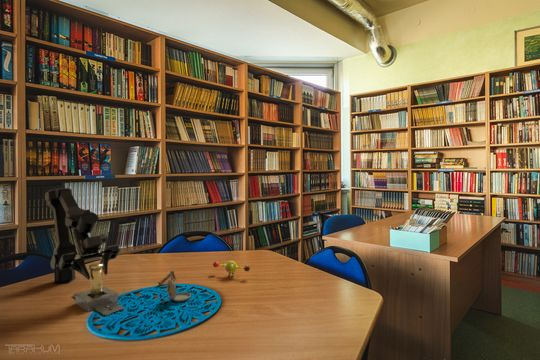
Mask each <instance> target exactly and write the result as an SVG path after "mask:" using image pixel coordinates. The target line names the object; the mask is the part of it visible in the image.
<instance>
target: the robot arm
mask: <svg viewBox="0 0 540 360" xmlns="http://www.w3.org/2000/svg"><path fill="white" fill-rule="evenodd" d="M44 199H45V201H46V203H47V204H46V205H47V207H48V208H49V209H50V210H51V211H52V214H53V215H52V216H53V221H54V228H55V237H56V246H55V247H54V249H53V251H52V253H53V254H52V257H51V260H50V262H49V263H50V269H53V271H54V272H53V273H54V275H53V277H54V280H53V281H52V283H51V284H68V283H71V282H72V281H73V280H75V279H76V278H77V276H76V272H77V273H79V274H80V275H82V276H83V277H84V278H85V279H86V280H88V281H90V273H89V271H88V270H89V269H88V268H87V266H86V264H85V261H88V260H93V259H98V258H99V259H100V261H99V263H103V267H102V273H103V274H104V275H105V276H107V275H108V267H109V266H108V265H109V261H110V260H115V259H116V258H117V256H118V255H119V253H120V251H121V249H120V247H119V245H117V244H114V245H108V246H106V248H105V249H104V250H101V245H104V244H105V243H107V241H108V238H107V235H106V233H100V234H99V235H96V236H95V235H93V233H92V232H93V231H95V228H96V226H97V223H98V221H99V220H100V219H99V218H100V217H99V215H98V214H97V213H95V212H92V211H91V210H90V209H84V208H81V207H80V206H79V204H78V202H77V201H76V198H75V196H74V195H73V191H72V189H71V188H69V187H60V188H56V189H49V190H48V191H47V192H45V194H44ZM73 229H74V230H73ZM70 230H73V232H72V239H74V241H75V243H76V244H75V243H74V244H73V243H72V241H71V239H70V232H69V231H70ZM100 250H101V251H100ZM78 252H79V253H78Z"/></svg>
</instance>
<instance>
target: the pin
mask: <svg viewBox="0 0 540 360" xmlns="http://www.w3.org/2000/svg"><path fill="white" fill-rule="evenodd" d="M102 267H103V263H100V262H95V263H91V264H89V265H88V270H89V272H90V273H89V276H90V279H89V281H90V290H91V298H95V297H98V296H101V295H102V287H103V270H102Z"/></svg>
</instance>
